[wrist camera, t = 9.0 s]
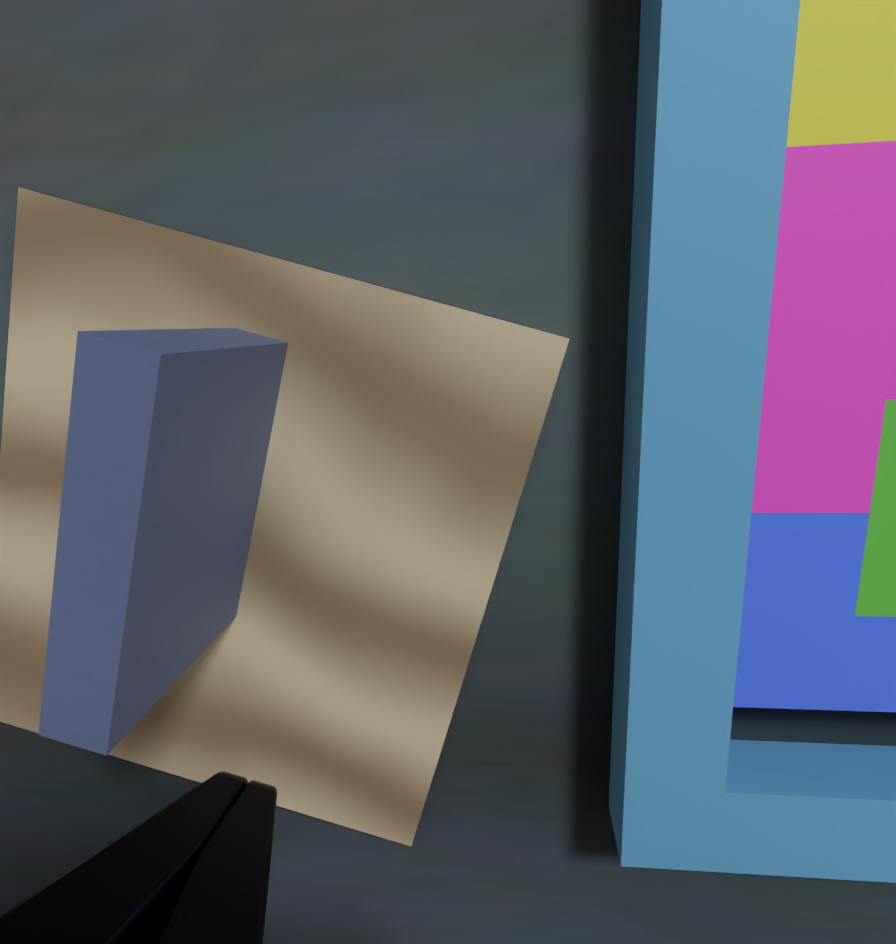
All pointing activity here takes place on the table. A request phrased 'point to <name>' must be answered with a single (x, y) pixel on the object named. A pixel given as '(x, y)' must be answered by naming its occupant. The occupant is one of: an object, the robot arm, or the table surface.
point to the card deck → (152, 517)
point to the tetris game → (759, 439)
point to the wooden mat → (288, 506)
